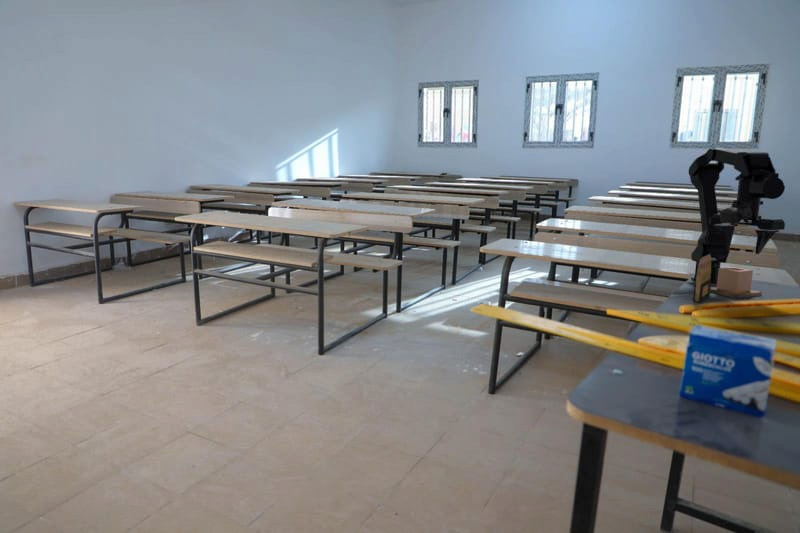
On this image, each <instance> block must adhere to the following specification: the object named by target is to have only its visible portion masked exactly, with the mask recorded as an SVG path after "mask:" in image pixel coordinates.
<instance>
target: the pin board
mask: <svg viewBox="0 0 800 533" xmlns="http://www.w3.org/2000/svg"><path fill="white" fill-rule="evenodd" d="M710 293H713V294H717V295H721V296H725V297H731V298H736V299H742V298H743V299H744V298H752V297H759V296H762V295H763V294H762V293H763V292H762V291H759V290H753V289H751V290H750V291H746V292H738V293H736V292H731V291H726V290H721V289H717V286H710Z"/></svg>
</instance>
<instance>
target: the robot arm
mask: <svg viewBox="0 0 800 533" xmlns="http://www.w3.org/2000/svg"><path fill="white" fill-rule="evenodd" d="M725 164H726V165H730V166H733V169H734V170H736V171H737V172H739V173H740V174H739V175H737V176H736V177H735V179H734V180H735V181H738V188H737V192H736V193H737V194H736V200H735V199H734V200H733V201H732V204H731V206H728V207H726V208H724V209H723V210H721V211H720V212H719V210H718V202H717V194H716V192H717V191H716V185H717V183H718V182H719V179H720V174H721V173H722V172H723V170H725ZM773 164H774V163H773V161H772V158H771V157H770V153H769V152H767V151H737V150H734V149H733V150H731V149H729V148H726V147H710V148H708V150H707V151H706V152H705V153H703V154H702V155H700V156H699V157H697V158H696V159H694V160H693V162H692V163H691V164H690V166H689V167H688V175H689V178H690V183H691V184H692V185H693V186H694V187H695V190H697V195H698V204H699V213H700V223H701V234H700V236H699V238H698V239H697V246H696V247H695V248H694V250H693V251H692V253H691V254H690V255H691V261H693V262H695V271H694V277H691V278H690V279H691V280H693V279H694V280H693V281H696V276H697V271H698V267H699V262H700V259H701V258H703V257H704V256H706V255H709V254H710V255H711V277H710V279H711V283H717V279H718V270H719V268H721V263H723V264H725V263H726V262H727V259H728V256H729V254H730V252H731V244H732V240H733V236H734V231H735V228H736V225H743V226H752V227H753V226H754V227H757V228H758V229H755V234H756V235H757V237H756V242H755V243H756V244H755V255H759V254H761V253H762V252H763V249H764V248H765V246H766V245H767V243H768V242H769V241H770V240H771V239H772V237H773V236H774V235H775V234H776V233H780V231H784V230H785V225H786V223H785V221H784V219H783V218H772V217H771V218H762V215H759V214H760V206H762V205H763V206H764V200H761V199H767V200H774V199H775V200H776V199H778V198H780V197H781V196H782V195H783V193H785V190H786V186H785V183H784V181H783V180H782V179H781V178H780V177H779V176H780V174H779V173H778V172H776V168H775V167H774V165H773Z"/></svg>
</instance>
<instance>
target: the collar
mask: <svg viewBox="0 0 800 533" xmlns="http://www.w3.org/2000/svg"><path fill="white" fill-rule="evenodd" d="M753 272H754V270H752V269H746V268H740V267H736V266H735V267H734V266H729V267H720V268H719V270H718V279H717V282H716V287H717V289H721V290H726V291H731V292H736V293H738V292H746V291H750V290H752V280H753Z"/></svg>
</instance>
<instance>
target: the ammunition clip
mask: <svg viewBox="0 0 800 533" xmlns="http://www.w3.org/2000/svg"><path fill="white" fill-rule="evenodd" d="M711 259H712V258H711V255H710V254H709V255H706V256H704V257H703V258H701V259H700V262H699V267H698V271H697V276H696V280H695V283H694V286H693V287H694V288H693V296H692V302H693V303H700V304H701V303H702V302H703V301H705V300H706V299H707V298H710V293H711V292H710V287H711V284H712V282H711V279H710V277H711Z"/></svg>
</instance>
